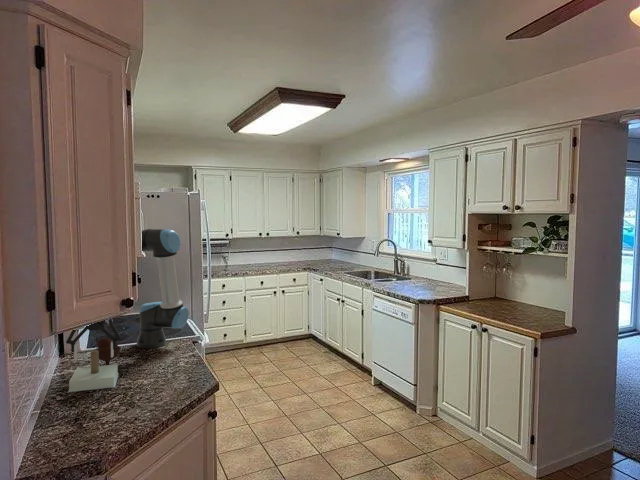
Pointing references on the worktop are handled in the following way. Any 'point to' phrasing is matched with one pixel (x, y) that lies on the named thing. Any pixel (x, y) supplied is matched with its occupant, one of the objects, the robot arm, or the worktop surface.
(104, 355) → the ice cream bowl
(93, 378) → the white knobbed square piece
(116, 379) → the mat
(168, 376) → the worktop surface
